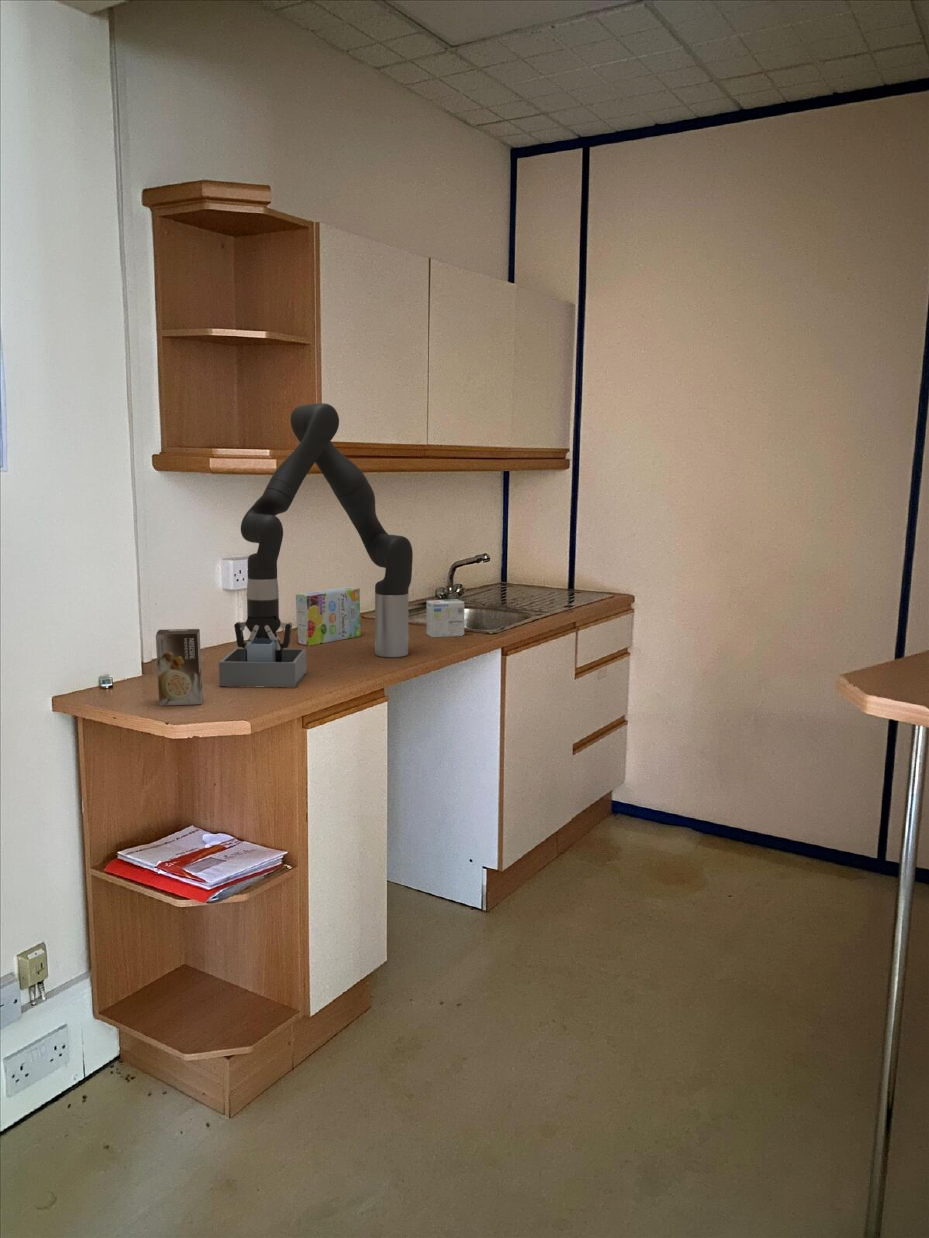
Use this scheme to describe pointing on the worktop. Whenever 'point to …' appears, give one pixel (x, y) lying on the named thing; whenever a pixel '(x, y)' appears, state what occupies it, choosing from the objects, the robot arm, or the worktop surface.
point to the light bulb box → (445, 618)
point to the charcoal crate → (263, 670)
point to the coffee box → (179, 667)
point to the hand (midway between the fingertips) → (263, 664)
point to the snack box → (328, 615)
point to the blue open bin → (261, 650)
